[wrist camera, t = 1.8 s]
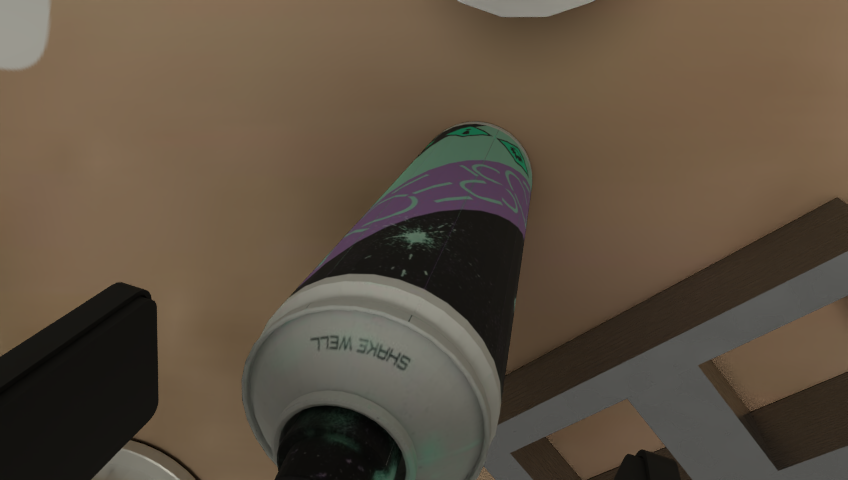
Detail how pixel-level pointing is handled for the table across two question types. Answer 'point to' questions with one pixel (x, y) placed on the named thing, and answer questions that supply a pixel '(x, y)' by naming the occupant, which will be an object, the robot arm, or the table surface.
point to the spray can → (402, 325)
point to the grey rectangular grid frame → (696, 370)
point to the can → (525, 7)
